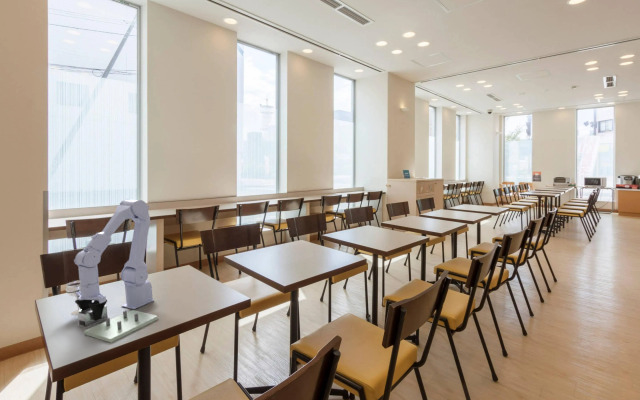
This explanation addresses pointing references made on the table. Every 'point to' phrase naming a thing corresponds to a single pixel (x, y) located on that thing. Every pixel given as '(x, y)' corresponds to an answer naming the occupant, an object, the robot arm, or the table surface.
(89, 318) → the drive
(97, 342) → the table surface
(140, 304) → the robot arm
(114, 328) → the pale green peg board
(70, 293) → the wineglass
